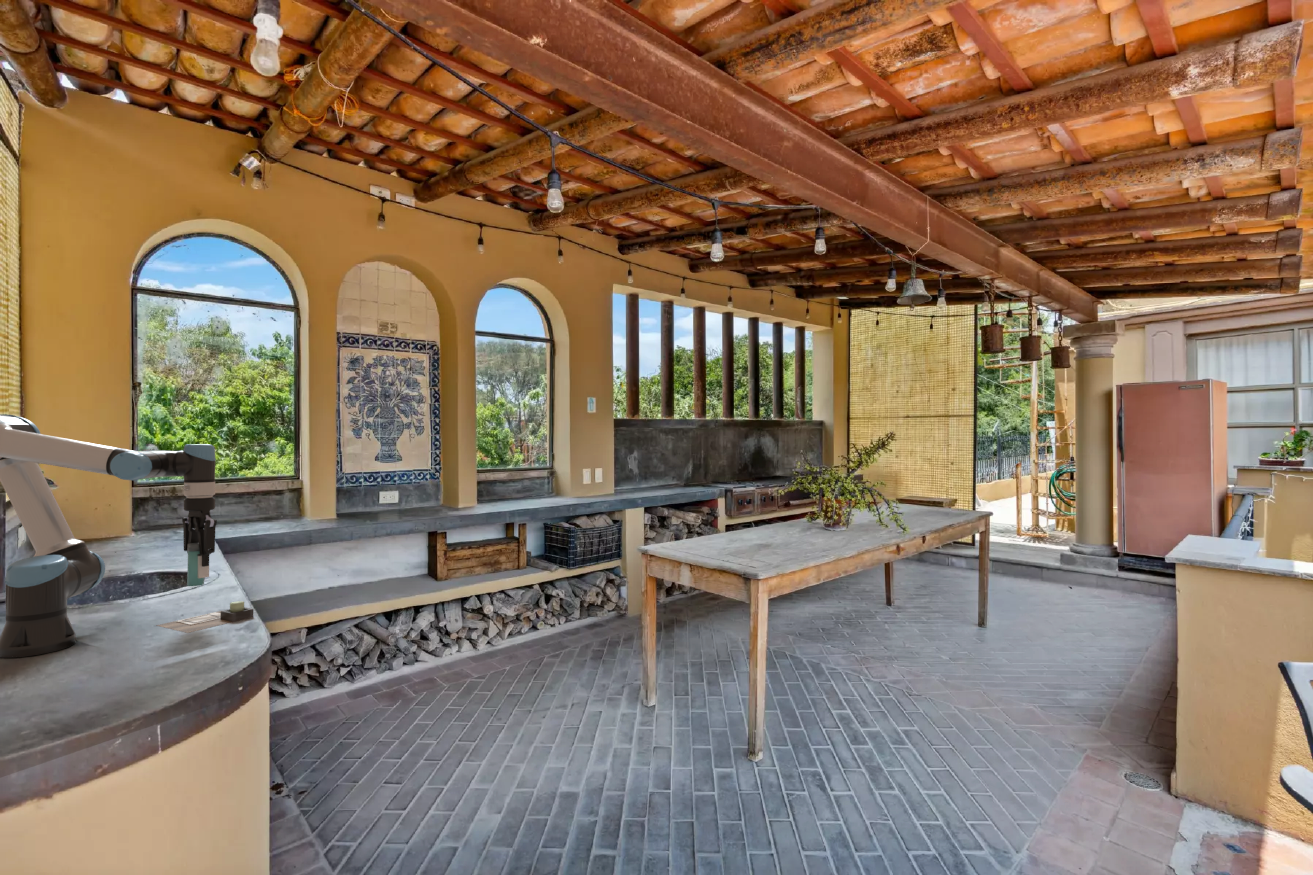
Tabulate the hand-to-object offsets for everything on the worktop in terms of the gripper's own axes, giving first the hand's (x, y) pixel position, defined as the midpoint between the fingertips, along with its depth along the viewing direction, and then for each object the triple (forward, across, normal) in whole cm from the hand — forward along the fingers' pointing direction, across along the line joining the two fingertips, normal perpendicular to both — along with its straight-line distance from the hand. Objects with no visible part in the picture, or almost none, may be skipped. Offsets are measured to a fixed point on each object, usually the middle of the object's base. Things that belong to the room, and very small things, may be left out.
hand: (198, 576), depth 190 cm
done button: (+11, +7, +7) cm, 15 cm away
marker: (+2, 0, -1) cm, 2 cm away
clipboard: (+14, +2, +1) cm, 14 cm away
